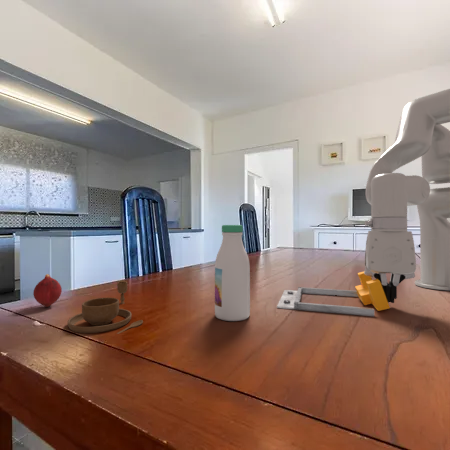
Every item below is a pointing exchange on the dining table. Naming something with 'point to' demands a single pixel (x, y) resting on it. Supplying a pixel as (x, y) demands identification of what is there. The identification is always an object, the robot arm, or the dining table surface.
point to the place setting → (103, 314)
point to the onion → (47, 291)
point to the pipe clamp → (371, 292)
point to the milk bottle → (232, 276)
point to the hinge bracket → (292, 301)
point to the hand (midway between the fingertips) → (388, 301)
